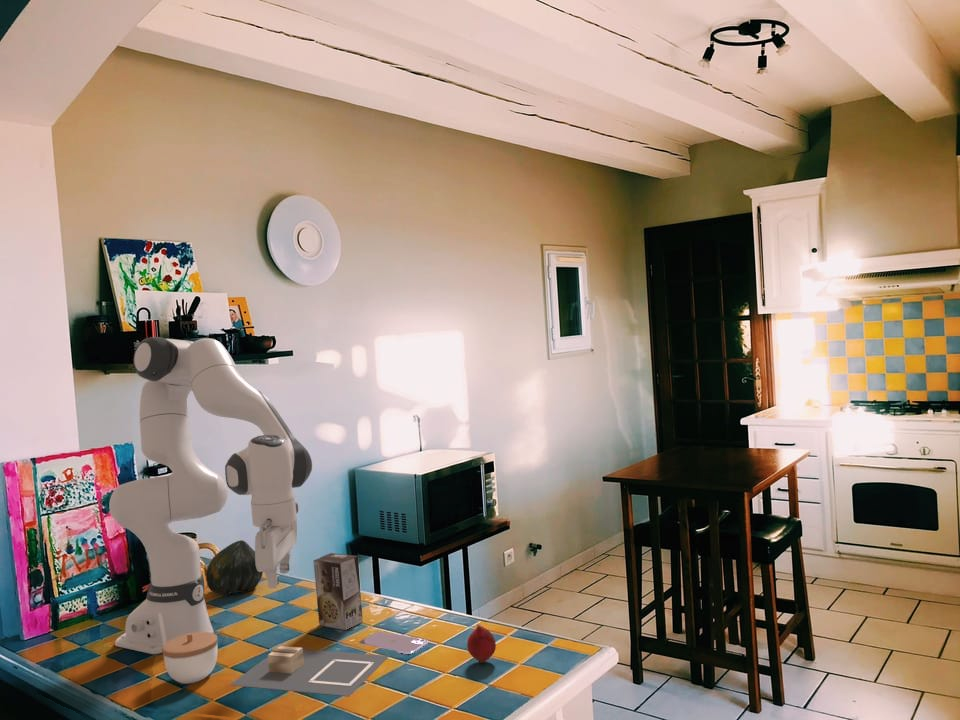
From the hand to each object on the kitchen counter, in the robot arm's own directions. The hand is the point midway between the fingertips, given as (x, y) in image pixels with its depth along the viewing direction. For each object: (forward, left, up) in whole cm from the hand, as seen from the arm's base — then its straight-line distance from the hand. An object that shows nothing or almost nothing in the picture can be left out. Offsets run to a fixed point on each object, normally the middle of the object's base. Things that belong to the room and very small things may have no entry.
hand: (279, 579), depth 157 cm
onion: (+40, +10, -19) cm, 46 cm away
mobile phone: (+17, +16, -20) cm, 31 cm away
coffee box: (-1, +25, -19) cm, 32 cm away
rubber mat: (+6, 0, -19) cm, 20 cm away
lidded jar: (-18, -7, -19) cm, 27 cm away
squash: (-44, +43, -19) cm, 64 cm away
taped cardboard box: (0, 0, -19) cm, 19 cm away
